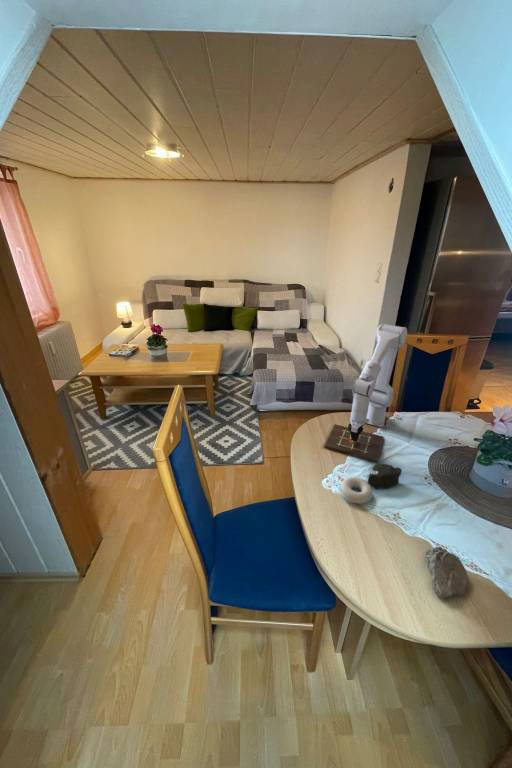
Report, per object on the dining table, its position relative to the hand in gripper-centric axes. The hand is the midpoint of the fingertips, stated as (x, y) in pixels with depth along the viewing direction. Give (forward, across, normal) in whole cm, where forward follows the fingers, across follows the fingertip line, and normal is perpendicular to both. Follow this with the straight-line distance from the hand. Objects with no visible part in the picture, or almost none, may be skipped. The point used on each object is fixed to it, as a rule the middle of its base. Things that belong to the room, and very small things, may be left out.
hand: (355, 437), depth 120 cm
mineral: (+3, -17, -12) cm, 21 cm away
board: (+3, 0, 0) cm, 3 cm away
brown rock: (+3, -43, -30) cm, 53 cm away
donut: (+3, -26, -6) cm, 27 cm away
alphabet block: (+2, 0, 0) cm, 2 cm away
